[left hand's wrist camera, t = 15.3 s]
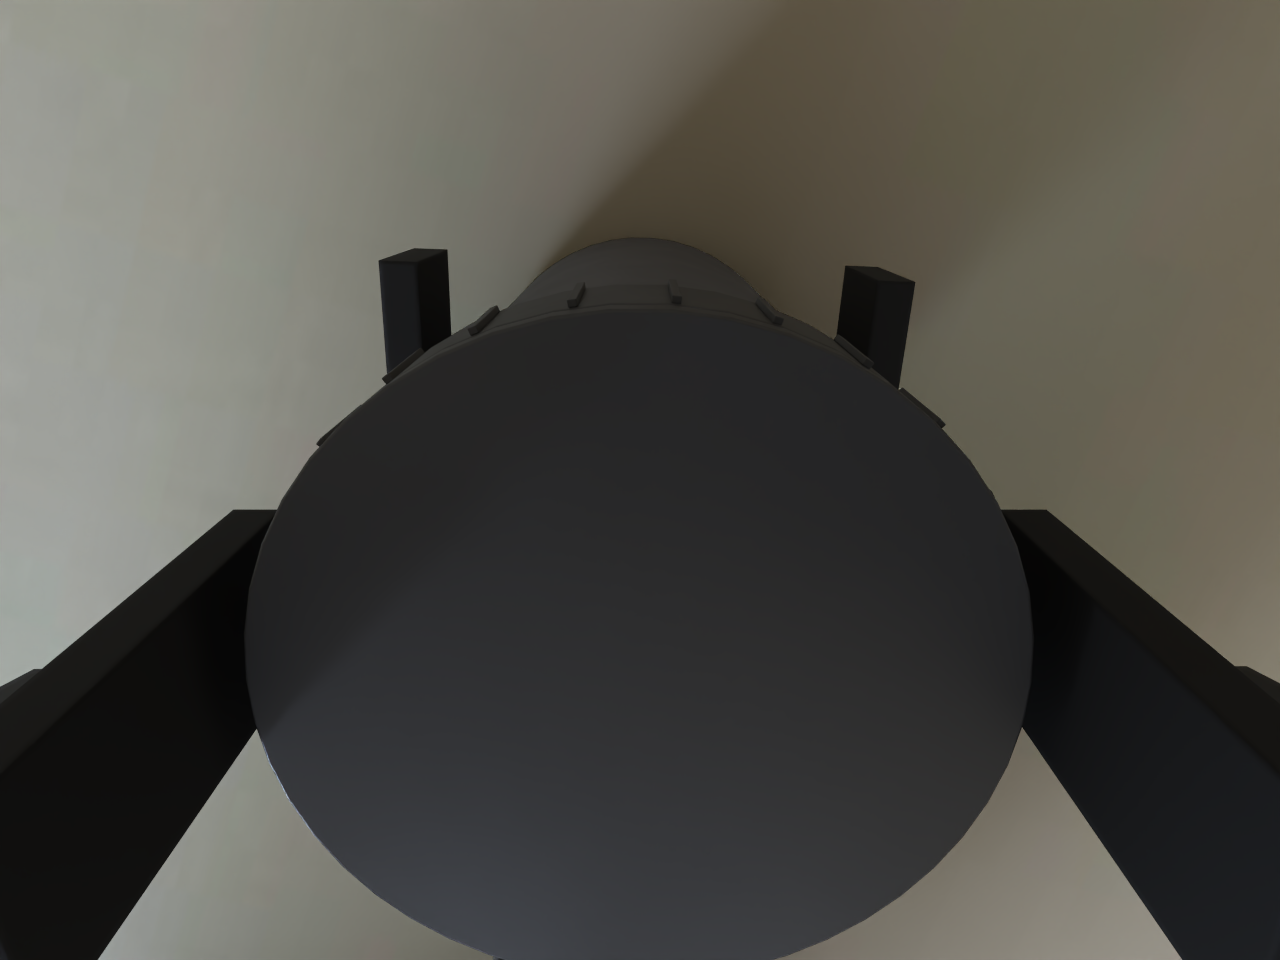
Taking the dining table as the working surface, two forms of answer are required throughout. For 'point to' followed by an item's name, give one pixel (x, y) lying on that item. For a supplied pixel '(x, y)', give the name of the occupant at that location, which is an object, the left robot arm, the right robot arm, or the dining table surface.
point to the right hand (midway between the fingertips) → (647, 264)
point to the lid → (639, 633)
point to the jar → (639, 269)
